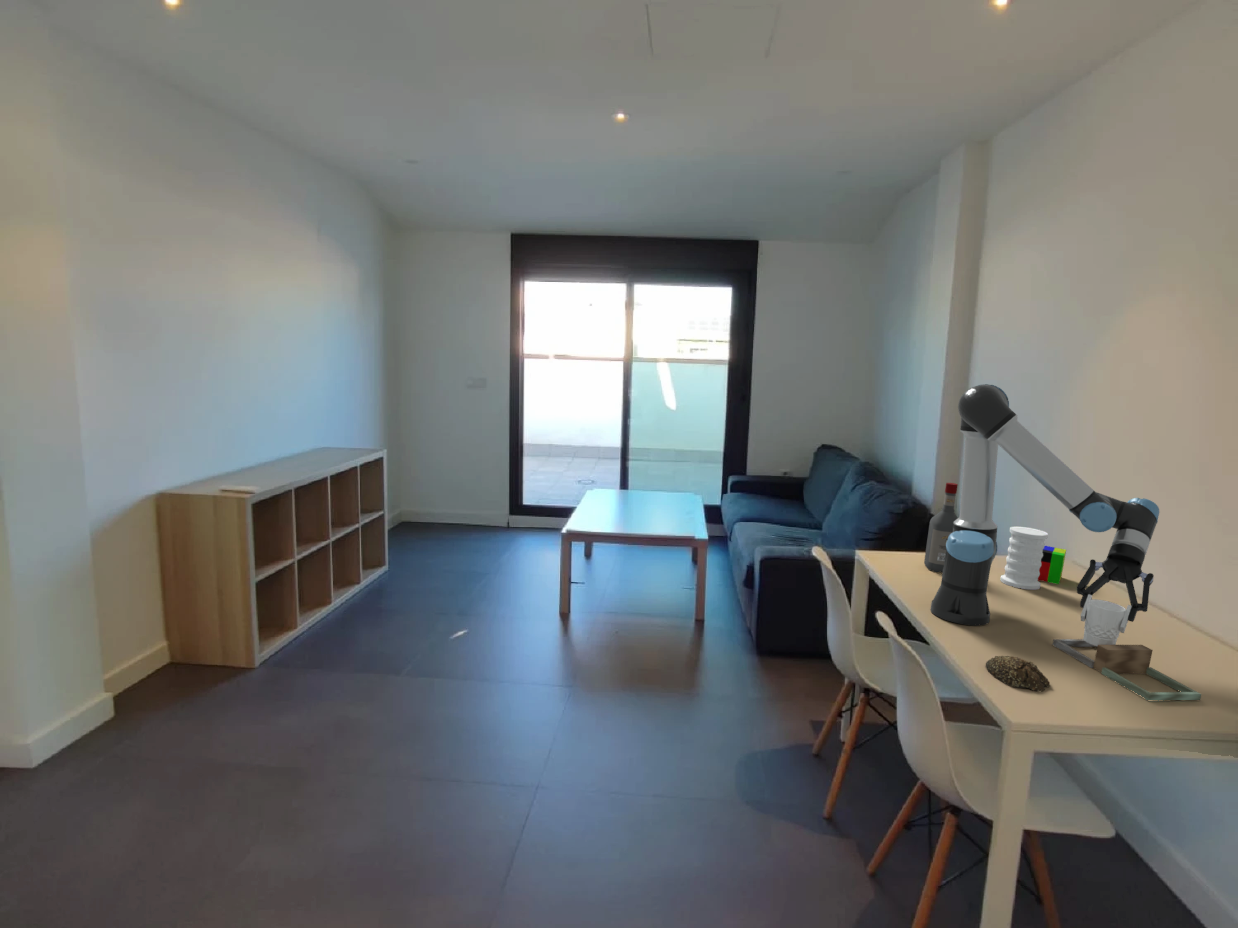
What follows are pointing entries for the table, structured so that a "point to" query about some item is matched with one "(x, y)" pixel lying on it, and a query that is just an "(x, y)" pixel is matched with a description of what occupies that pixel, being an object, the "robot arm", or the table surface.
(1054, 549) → the puzzle toy
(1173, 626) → the table surface
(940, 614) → the robot arm
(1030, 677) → the bread roll
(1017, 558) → the decorative container
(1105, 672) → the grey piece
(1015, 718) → the table surface
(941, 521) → the liquor
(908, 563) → the table surface
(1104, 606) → the white cup
